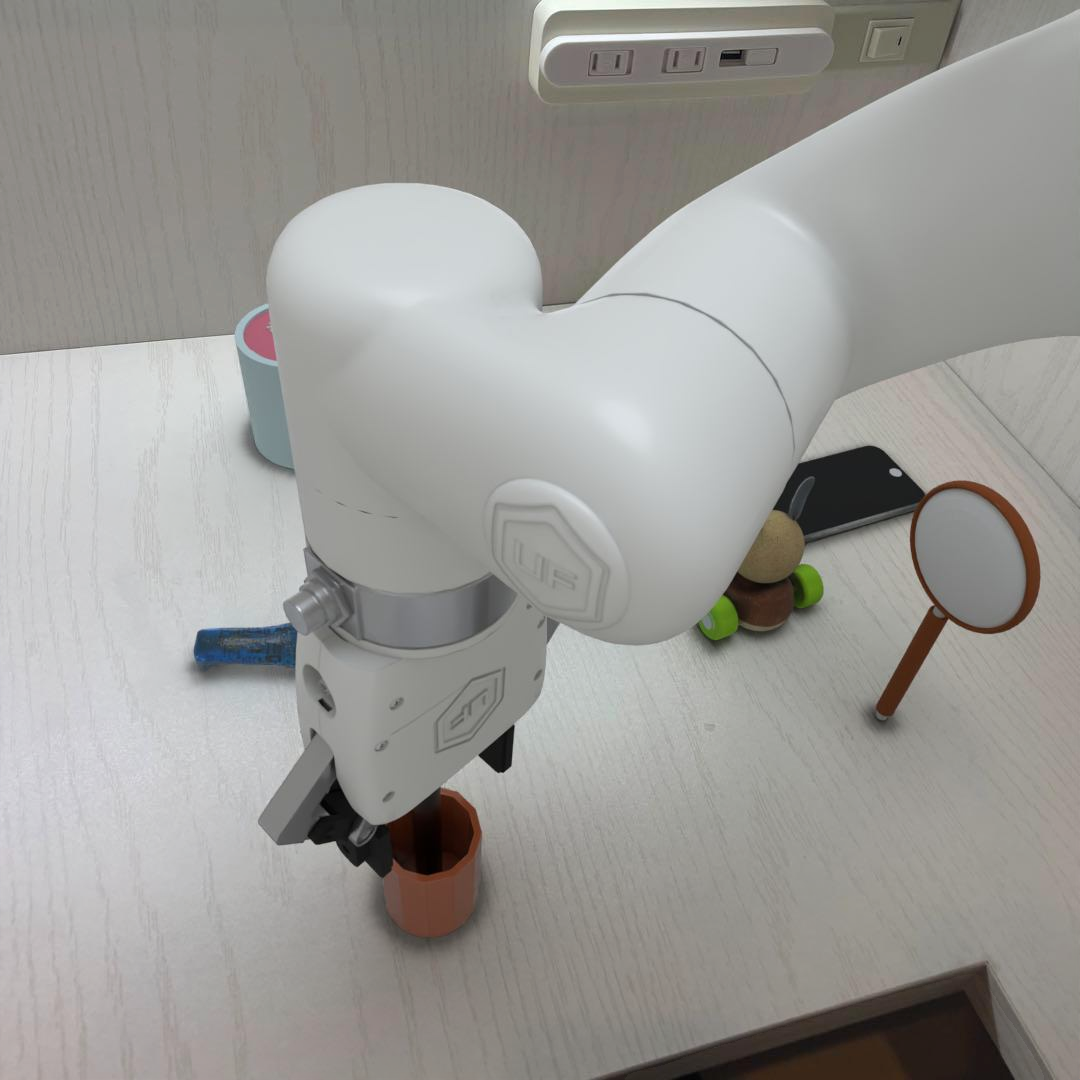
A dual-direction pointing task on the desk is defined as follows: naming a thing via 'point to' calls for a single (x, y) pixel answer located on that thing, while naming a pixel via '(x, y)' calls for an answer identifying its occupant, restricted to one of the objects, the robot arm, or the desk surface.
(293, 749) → the desk surface
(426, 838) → the stylus
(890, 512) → the smartphone
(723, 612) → the toy car
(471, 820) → the pen pot
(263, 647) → the figurine
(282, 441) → the mug
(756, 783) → the desk surface
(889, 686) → the magnifying glass
